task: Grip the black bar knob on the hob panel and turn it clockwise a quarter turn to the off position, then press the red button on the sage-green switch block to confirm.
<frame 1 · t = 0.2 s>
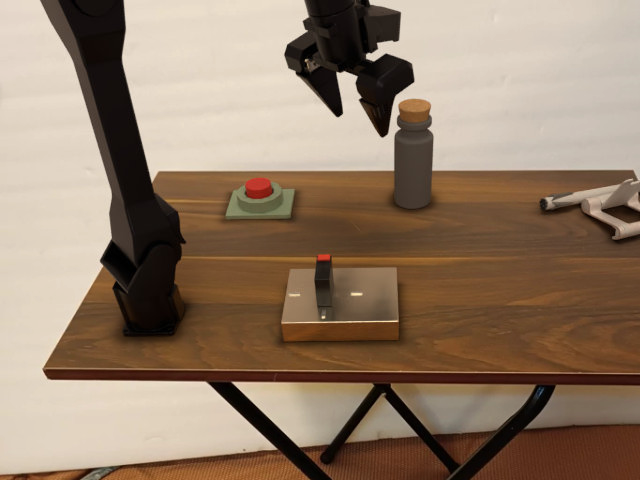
hand: (361, 125, 85), 15 cm above the table, tool pointing down, fingers open, 9 cm apart
hob panel: (342, 312, 81), on the table
switch block: (261, 205, 100), on the table
confirm button: (258, 188, 98), point 3 cm above the table, slide at 0.1 cm
bottle: (412, 201, 101), on the table
stove knob: (324, 279, 77), point 5 cm above the table, hinge at 90.0°
rocket model: (540, 203, 96), point 1 cm above the table
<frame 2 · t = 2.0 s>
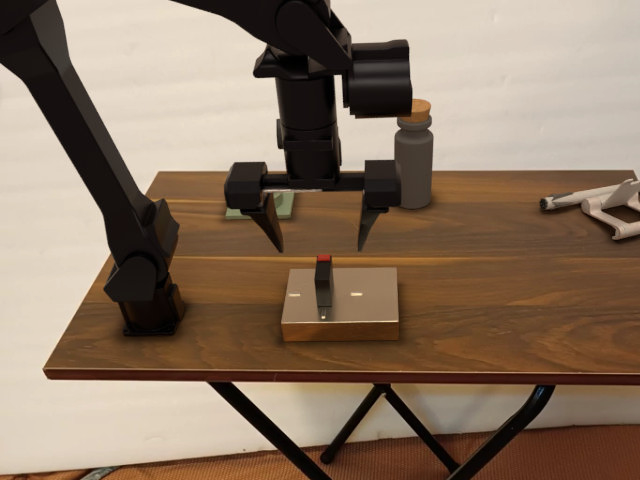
hand: (320, 250, 74), 9 cm above the table, tool pointing down, fingers open, 9 cm apart
nothing on the table moved.
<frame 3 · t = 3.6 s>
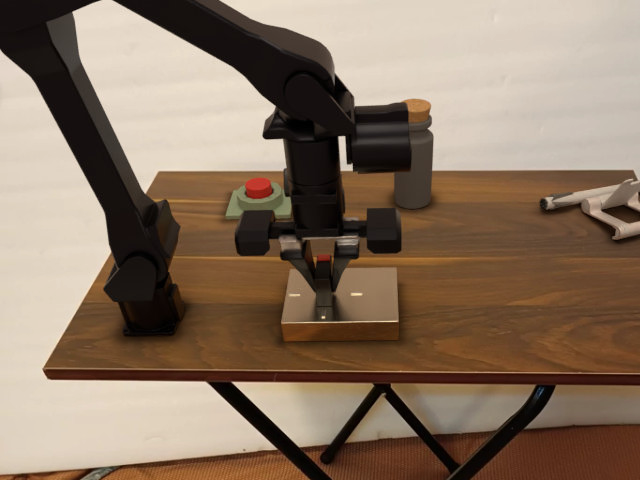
hand: (325, 290, 78), 4 cm above the table, tool pointing down, fingers closed on stove knob, 2 cm apart
stove knob: (324, 279, 77), point 5 cm above the table, hinge at 90.0°, touching gripper
everything else where it was.
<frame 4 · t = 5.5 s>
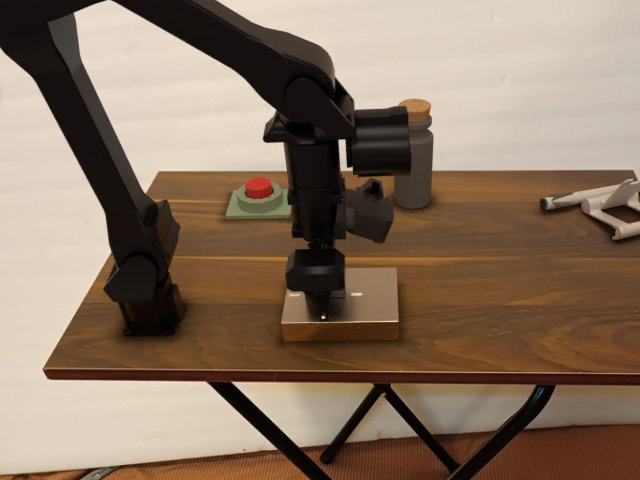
hand: (325, 292, 79), 3 cm above the table, tool pointing down, fingers open, 7 cm apart
stove knob: (324, 279, 77), point 5 cm above the table, hinge at 0.6°
everything else where it was.
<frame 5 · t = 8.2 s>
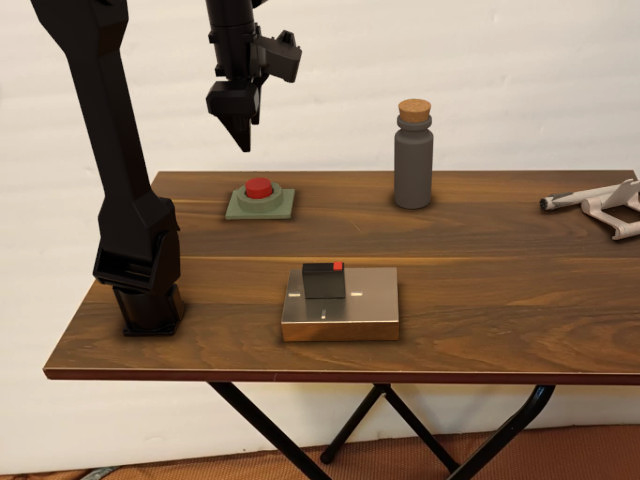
hand: (251, 137, 92), 11 cm above the table, tool pointing down, fingers open, 9 cm apart
nothing on the table moved.
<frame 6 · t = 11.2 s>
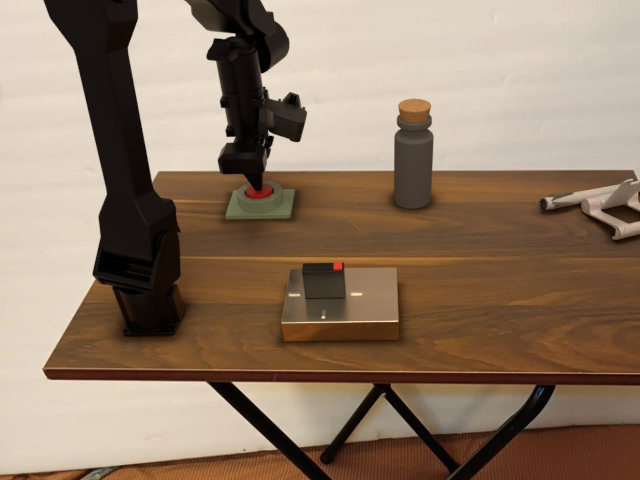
hand: (258, 189, 98), 3 cm above the table, tool pointing down, fingers closed, pressing on confirm button
confirm button: (259, 194, 99), point 2 cm above the table, slide at -0.9 cm, touching gripper
everything else where it was.
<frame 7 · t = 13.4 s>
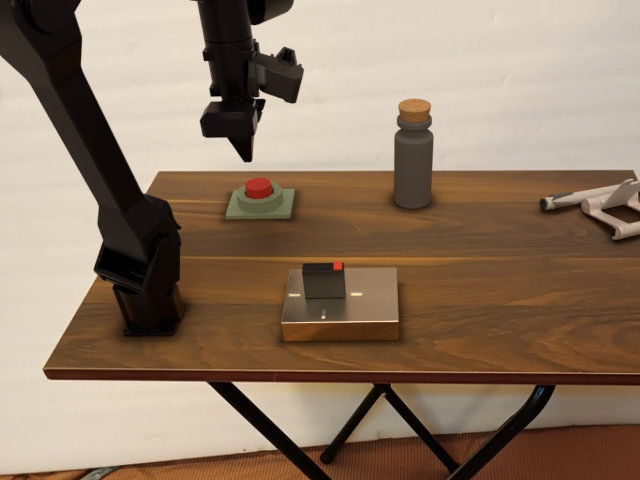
hand: (248, 161, 86), 12 cm above the table, tool pointing down, fingers closed
confirm button: (258, 188, 98), point 3 cm above the table, slide at 0.1 cm
everything else where it was.
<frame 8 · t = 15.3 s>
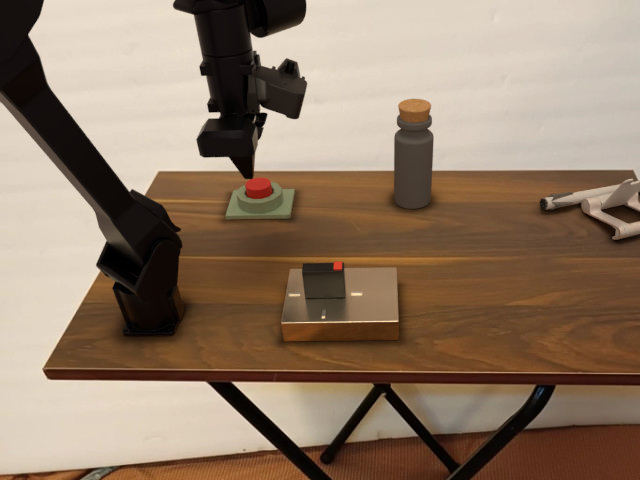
hand: (249, 177, 82), 12 cm above the table, tool pointing down, fingers closed
nothing on the table moved.
at the end: stove knob at +1° (first picture: +90°); confirm button pushed in 1.1 cm at the most during the clip, back to where it started at the end; confirm button slide at 0.1 cm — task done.
